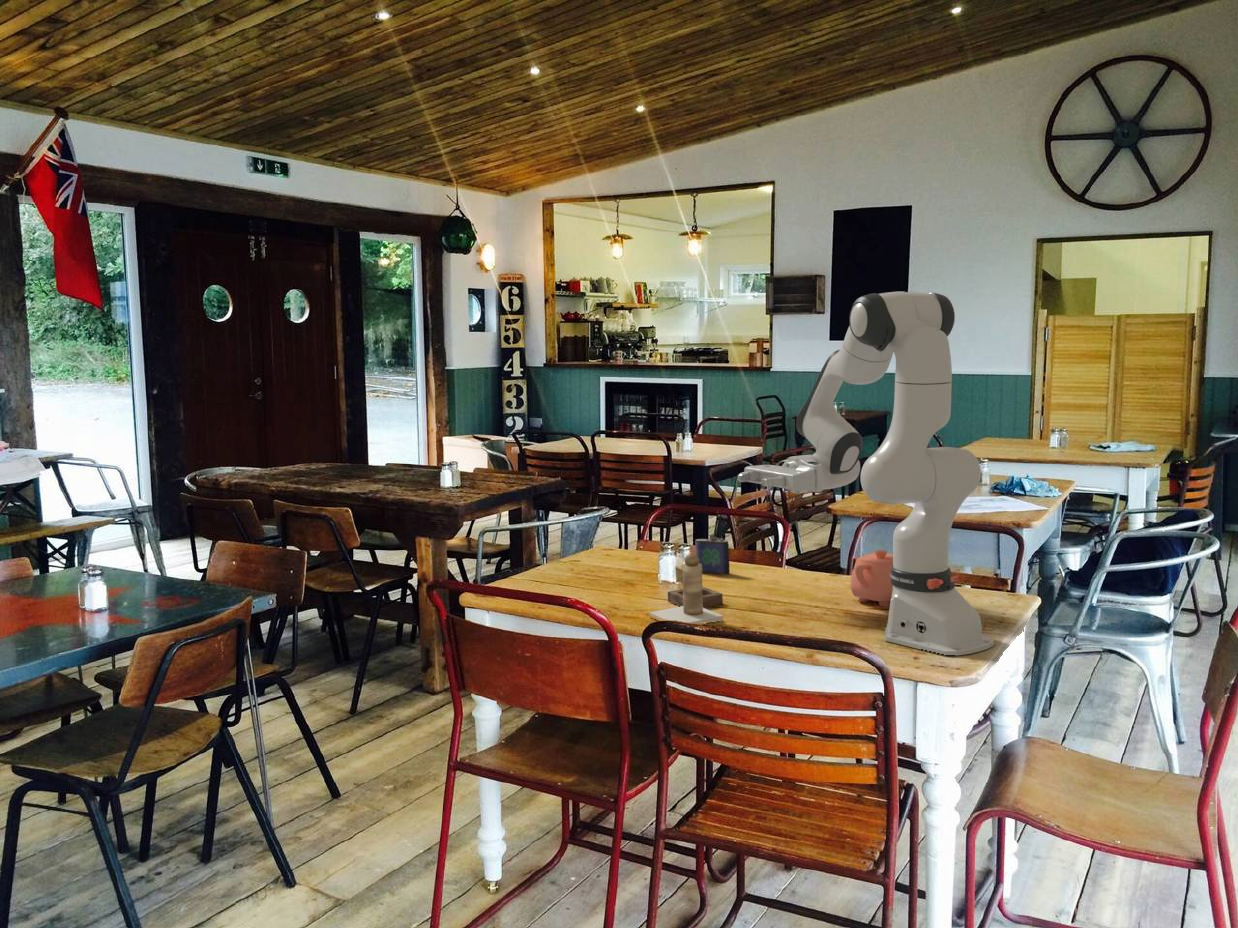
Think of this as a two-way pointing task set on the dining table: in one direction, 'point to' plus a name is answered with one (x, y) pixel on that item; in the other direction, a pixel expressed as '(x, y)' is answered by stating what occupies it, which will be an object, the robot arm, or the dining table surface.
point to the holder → (708, 597)
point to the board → (679, 615)
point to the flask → (713, 555)
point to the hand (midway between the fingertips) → (751, 480)
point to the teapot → (873, 578)
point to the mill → (692, 586)
